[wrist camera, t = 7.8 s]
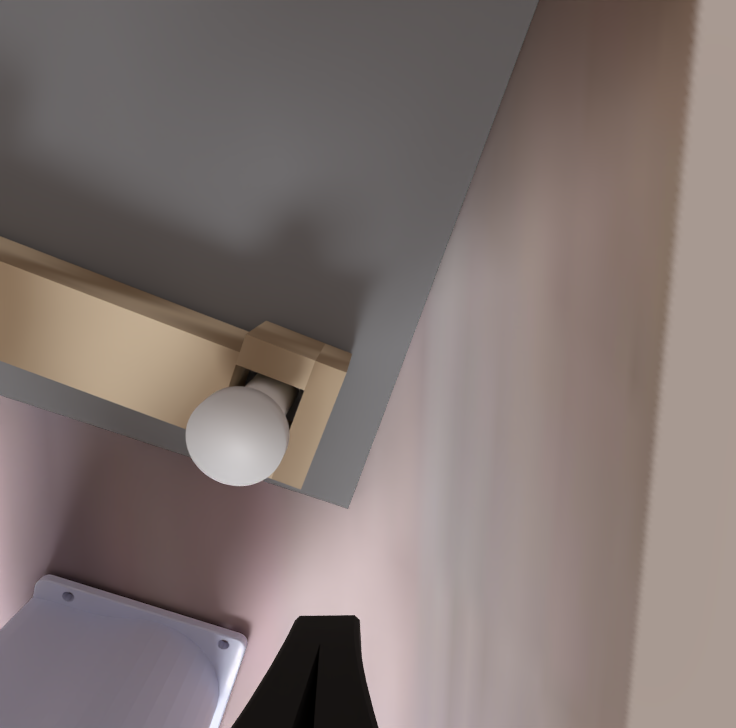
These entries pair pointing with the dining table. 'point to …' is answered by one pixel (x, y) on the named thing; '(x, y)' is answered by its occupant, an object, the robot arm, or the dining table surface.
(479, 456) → the dining table surface
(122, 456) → the dining table surface
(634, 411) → the dining table surface
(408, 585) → the dining table surface
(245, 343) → the link
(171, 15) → the board
